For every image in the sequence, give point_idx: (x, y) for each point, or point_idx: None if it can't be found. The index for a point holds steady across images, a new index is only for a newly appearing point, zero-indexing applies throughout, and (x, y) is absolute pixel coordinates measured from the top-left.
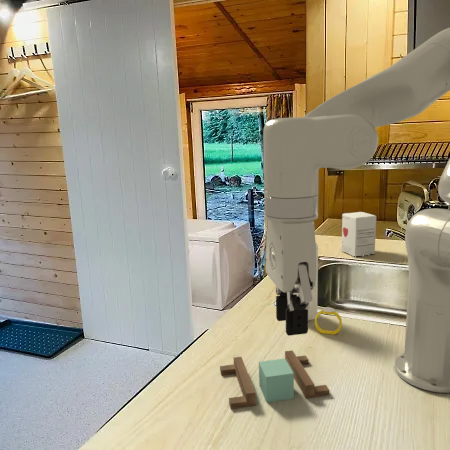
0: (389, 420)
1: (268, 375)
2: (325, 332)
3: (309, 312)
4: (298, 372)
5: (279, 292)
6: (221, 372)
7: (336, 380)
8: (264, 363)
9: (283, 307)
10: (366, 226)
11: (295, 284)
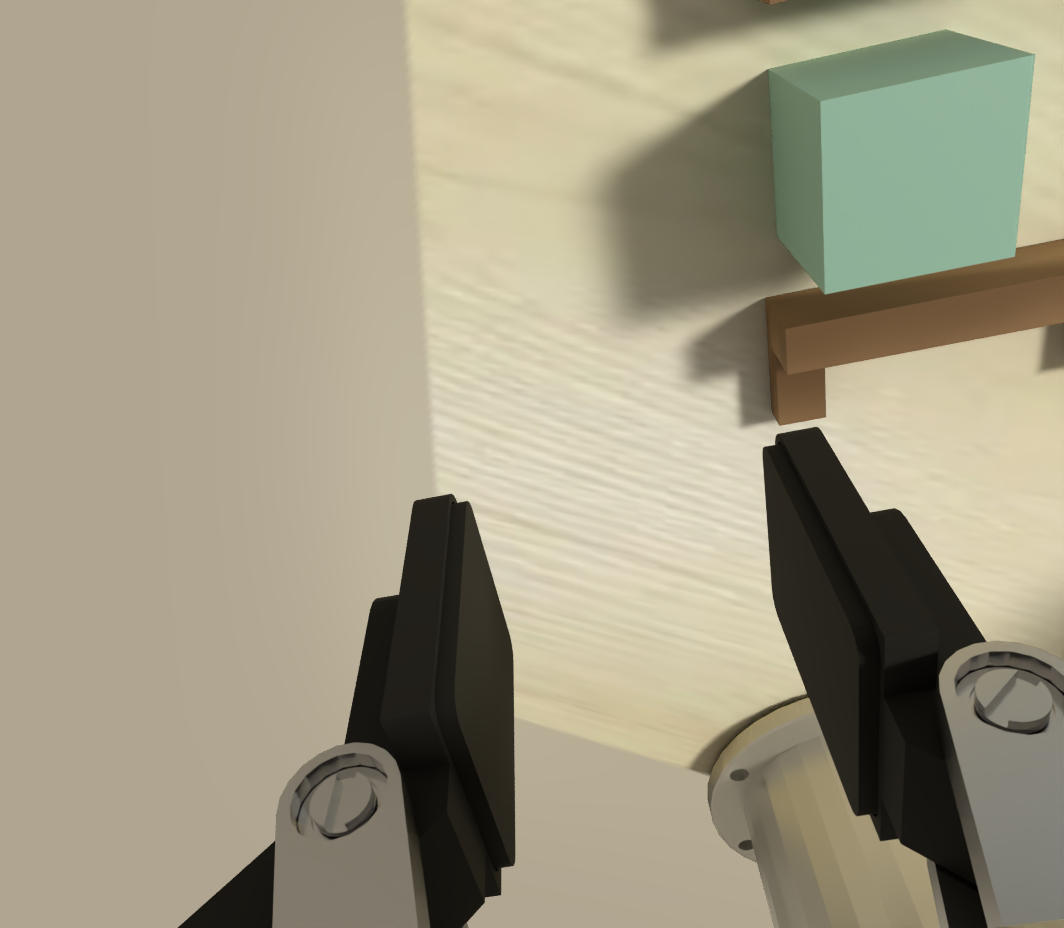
0: (577, 588)
1: (835, 122)
2: None
3: None
4: (924, 306)
5: (944, 721)
6: None
7: (881, 461)
8: (998, 100)
9: (814, 596)
10: None
11: None
